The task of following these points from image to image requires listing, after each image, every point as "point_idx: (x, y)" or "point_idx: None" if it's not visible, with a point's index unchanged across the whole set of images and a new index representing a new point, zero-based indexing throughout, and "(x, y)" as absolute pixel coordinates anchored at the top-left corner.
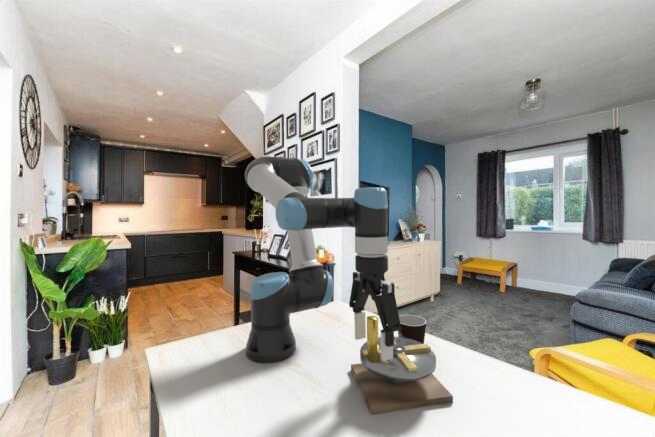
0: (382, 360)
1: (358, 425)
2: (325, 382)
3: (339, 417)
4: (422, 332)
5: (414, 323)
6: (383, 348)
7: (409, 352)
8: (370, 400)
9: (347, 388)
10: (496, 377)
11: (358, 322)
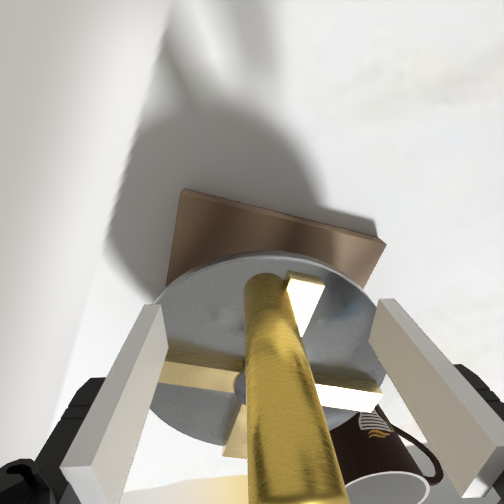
0: (146, 305)
1: (159, 132)
2: (376, 131)
3: (208, 93)
4: None
5: (382, 482)
6: (122, 353)
7: (239, 402)
8: (208, 207)
9: (310, 183)
10: (189, 452)
11: (433, 388)
